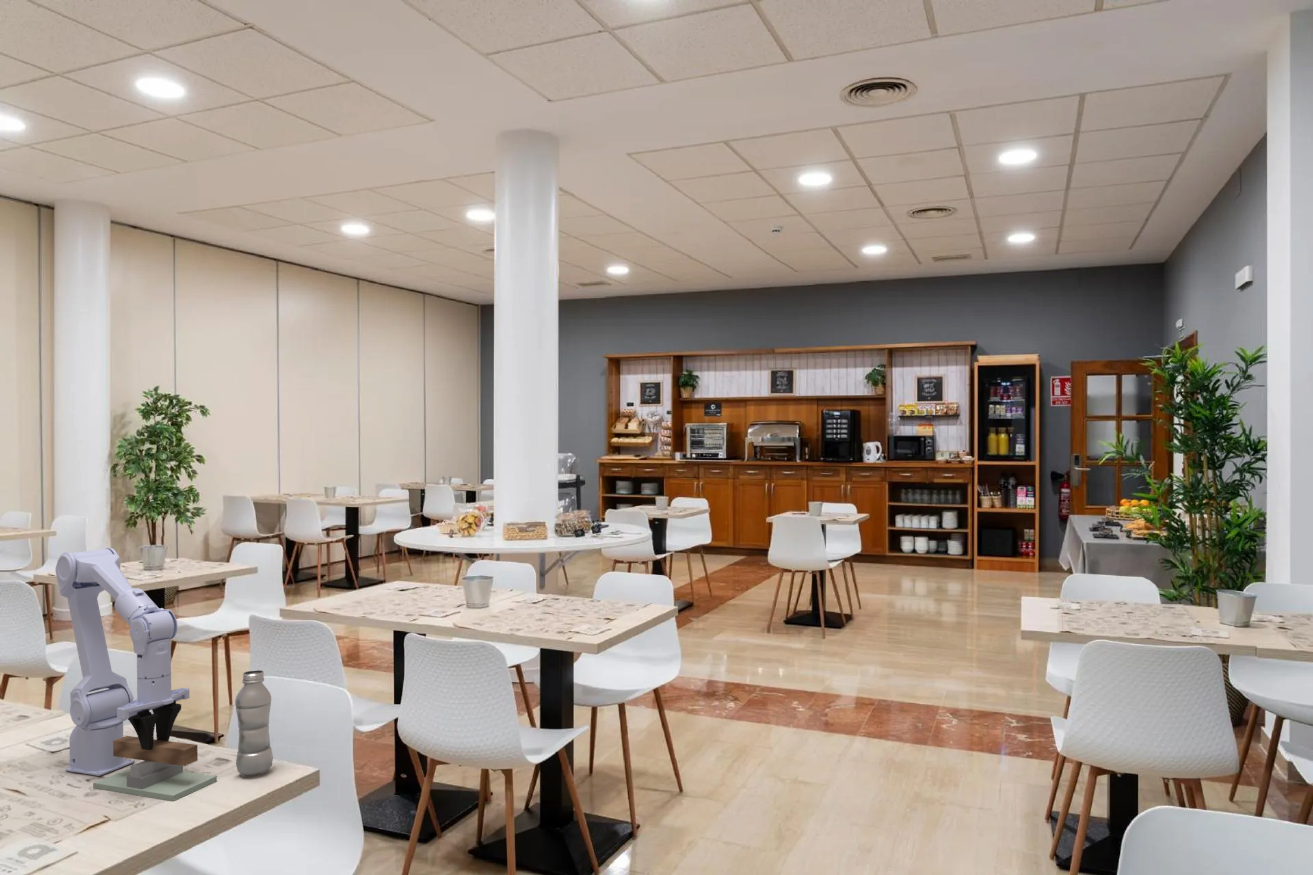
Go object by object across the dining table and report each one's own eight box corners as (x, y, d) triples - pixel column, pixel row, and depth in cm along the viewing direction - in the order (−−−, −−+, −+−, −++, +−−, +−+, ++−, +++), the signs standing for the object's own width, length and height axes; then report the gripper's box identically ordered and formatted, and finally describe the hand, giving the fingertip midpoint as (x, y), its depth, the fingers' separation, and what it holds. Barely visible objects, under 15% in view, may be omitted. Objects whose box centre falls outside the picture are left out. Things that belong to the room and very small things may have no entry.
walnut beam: (113, 756, 174) (113, 740, 174) (127, 750, 177) (126, 735, 177) (184, 765, 168) (184, 749, 168) (197, 760, 171) (197, 744, 171)
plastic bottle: (271, 777, 176) (269, 674, 176) (233, 781, 174) (232, 677, 174) (275, 765, 182) (273, 666, 182) (238, 769, 180) (237, 669, 180)
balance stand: (93, 787, 171) (92, 761, 171) (139, 769, 181) (138, 744, 181) (173, 800, 165) (172, 773, 165) (216, 781, 174) (216, 755, 174)
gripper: (136, 686, 165) (137, 761, 165) (201, 667, 178) (201, 736, 178) (108, 683, 167) (108, 756, 167) (173, 664, 181) (174, 732, 181)
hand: (154, 745), depth 173 cm, fingers closed on walnut beam, 3 cm apart
